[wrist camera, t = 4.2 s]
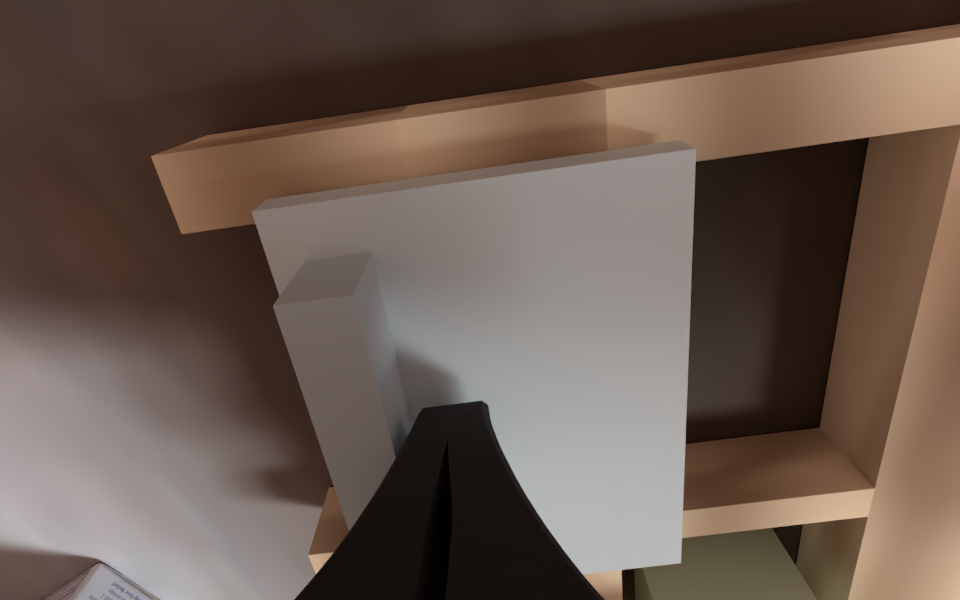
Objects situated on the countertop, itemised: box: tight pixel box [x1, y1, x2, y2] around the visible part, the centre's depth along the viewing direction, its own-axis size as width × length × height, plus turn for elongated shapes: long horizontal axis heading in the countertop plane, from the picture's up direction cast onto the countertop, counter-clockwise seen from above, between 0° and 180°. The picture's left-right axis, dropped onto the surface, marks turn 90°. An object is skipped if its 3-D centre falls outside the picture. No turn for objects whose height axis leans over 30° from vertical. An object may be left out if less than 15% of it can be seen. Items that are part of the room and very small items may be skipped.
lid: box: [252, 140, 696, 574], centre depth 11 cm, size 8×10×3 cm
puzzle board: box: [151, 24, 960, 600], centre depth 16 cm, size 18×24×2 cm
